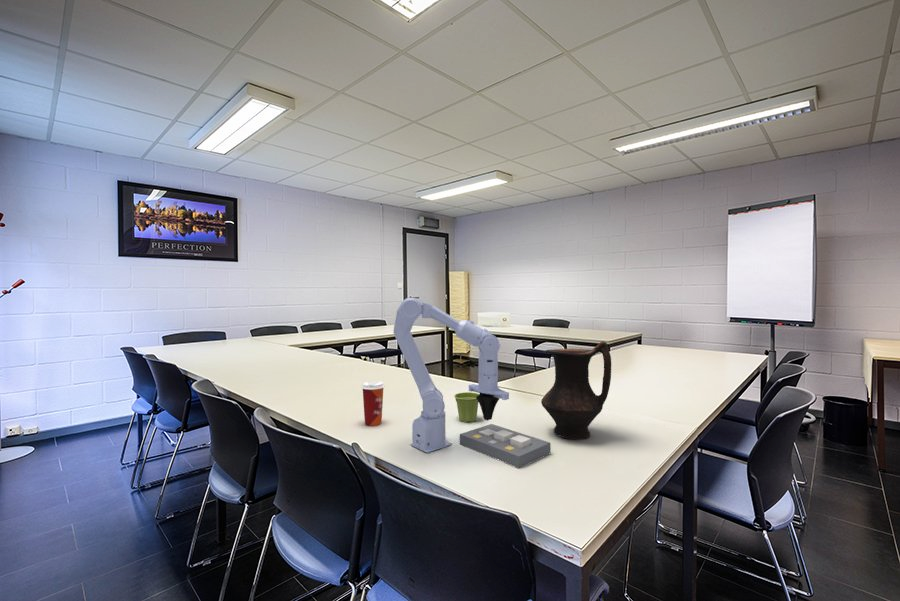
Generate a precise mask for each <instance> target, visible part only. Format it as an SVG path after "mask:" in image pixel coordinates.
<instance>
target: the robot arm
mask: <svg viewBox="0 0 900 601" xmlns="http://www.w3.org/2000/svg"><path fill="white" fill-rule="evenodd" d="M395 314H396V315H395V320H394V325H393V331H392V332H393V335H394V337H395V339H396V342H397V344H398V346H399V348H400V351H401V353H402V356H403V357H404V360H405V362H406V364H407V366H408V369H409V372H410V373H411V375H412V377H413V380H414V382H415V383H416V384H415V385H416V386H417V389H418V392H419V395H420V398H421V400H422V411H421V412H420V416H419V417H416V418H415V419H413V421H412V426H411V427H412V429H411V430H412V433H411V435H412V440H411V441H412V443H410V446H412V447H414V448H416V449H419V450H421V451H422V452H425V453H427V454H429V453H430V452H433V451H437V450H439V449H442V448H446V447H449V446H451V445H452V444H453V442H451V441H448V440H446V412H445V406H446V405H445V401H444V395H443V393H442V392H441V391H440V390H439V389H438V388H437V387H436V385H435V382H434V381H433V380H432V378H431V375H430V373H429V370H428V369H427V367H426V364H425V362H424V360H423V357H422V355H421V353H420V350H419V348H418V346H417V344H416V342H415V339H414V337H413V335H412V333H411V330H412V328H413V326H414V324H415V322H416V320H418V319H419V317H420V316H421V319H432V320H434V321H437V322H438V323H440V324H442V325H443V326H446V327H447V328H450V329H452V330H453V331H454V333H455V335H456V337H457V338H458V339H460V340H462V341H463V342H465V343H468V344H469V345H471V346H473V347H475V348H478V351H479V353H478V354H479V355H478V380H477V381H478V382H477V383H478V384H475V383H472V384H471V383H470V384H468V392H472V393H478V394H479V395H478V396H476V399H477V400H478V405H479V406H480V409H481V413H482V416H483V420H484V421H490V420H492V419H493V415H494V411H495V408H496V407H497V406H496V405H497V404H498V402H499V400H500V399H501V400H503V401H506V400H510V392H509V391H505V390H502V389H501V388H500V387H499V385H498V383H499V381H498V379H499V374H498V373H499V372H498V371H499V358H498V355H499V354H498V352H499V351H500V348H501V344H500V341H499V339H498V337H496V335H494V334H493V333H491V332H488V329H486V328H484V329H483V328H482V327H479V326H478V325H476V324H474V323H475V322H474V321H473V320H471V319H469V320H467V319H464V320H463V319H462V320H461V321H459V319H457V318H455V317H453V316H452V315H450V314H448V313H447V312H444V311H443V310H441V309H440V308H438V307H437V306H434V305H432V304H431V303H427V302H425V301H423V300H421V301H420V300H418V299H417V298H416V297H407V298H405V299H404V300H402V301H401V303H400V304H399V306H398V308H397V310H396V313H395Z"/></svg>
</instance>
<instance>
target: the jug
mask: <svg viewBox="0 0 900 601" xmlns="http://www.w3.org/2000/svg"><path fill="white" fill-rule="evenodd" d="M545 353H547V354H552V357H553V362H554V374H555V377H554V383H553V385H552V387H551V388H550V389H549V390H548V391H547V392H546V393H545V394H544V396H543V397H542V399H541V402H540V403H541V405H542V408H544V410H545V411H546V412H547V413H548V414H549V416H550V417H551V419H552V420H553V421H554V423H555V427H554V428H553V433H554V434H555V435H556V436H559V437H562V438H565V439H571V440H584V439H589V438H590V436H591V432H590V431H589V426H590V425H591V423H592V422H593V421H594V420H595V419H596V418H597V416H598V415H599V414H600V413H601V412H602V411H603V406H604V404H605V402H606V400H607V398H608V394H609V390H610V386H611V380H612V357H611V353H610V349H609V347H608V344H607V342H606V341H605V340H603V341H600V342H599V343H598V344H597V345H596V346H594V347H593V348H592V349H586V348H556V349H545ZM599 353H601V354H602V357H603V375H602V384H601V385H602V387H601V393H600V394H599V395H598V394H596V393H595V392H594V390H593V388H592V386H591V383H590V380H589V377H590V376H589V373H590V372H589V371H590V370H589V365H590V362H591V360H592V358H593V356H595V355H596V354H599Z"/></svg>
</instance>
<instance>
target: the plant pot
mask: <svg viewBox="0 0 900 601" xmlns="http://www.w3.org/2000/svg"><path fill="white" fill-rule="evenodd" d="M479 394H480V393H477V392H472V391H467V392H458V393H455V394H454V396H453V397H454V398H455V402H456V406H457V407H456V408H457V412H458V419H459V421H460V422H463V423H467V422H471V423H472V422H475V421H476V420H477V416H478V409H479V402H478V400H477V399H476V396H478V395H479Z"/></svg>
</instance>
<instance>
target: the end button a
mask: <svg viewBox="0 0 900 601" xmlns="http://www.w3.org/2000/svg"><path fill="white" fill-rule="evenodd" d="M495 432H496V431H493V430H490V429H486V430H483V431H480V432H479V434H482V435H485V436H487V437H490V436H493V435H494V433H495Z"/></svg>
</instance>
